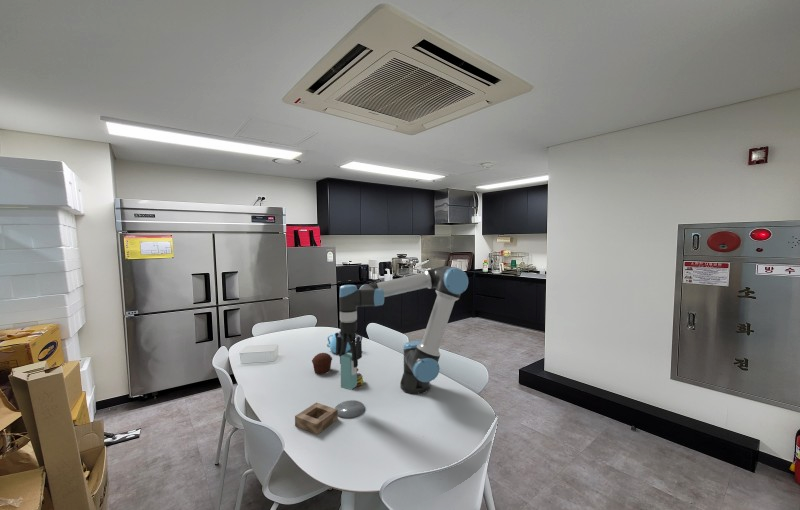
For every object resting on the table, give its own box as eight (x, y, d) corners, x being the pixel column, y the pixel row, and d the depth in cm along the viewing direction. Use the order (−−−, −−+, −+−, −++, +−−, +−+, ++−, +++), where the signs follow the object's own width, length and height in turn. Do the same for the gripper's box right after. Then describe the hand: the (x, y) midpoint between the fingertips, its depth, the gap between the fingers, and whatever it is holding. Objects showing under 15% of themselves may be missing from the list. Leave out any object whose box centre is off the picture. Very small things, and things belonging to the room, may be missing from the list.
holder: (337, 418, 128) (337, 409, 128) (316, 434, 118) (316, 424, 118) (316, 411, 134) (316, 402, 134) (295, 425, 124) (294, 416, 124)
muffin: (321, 377, 169) (321, 359, 168) (307, 372, 174) (307, 355, 174) (336, 369, 179) (336, 352, 178) (323, 365, 185) (322, 349, 184)
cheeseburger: (360, 389, 154) (355, 370, 154) (341, 392, 156) (336, 373, 156) (366, 380, 164) (362, 362, 164) (348, 383, 166) (344, 365, 166)
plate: (370, 406, 138) (370, 404, 138) (352, 421, 126) (352, 419, 126) (347, 399, 144) (347, 397, 144) (328, 413, 133) (328, 411, 133)
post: (356, 385, 136) (356, 354, 135) (349, 390, 131) (349, 358, 131) (348, 382, 138) (347, 352, 138) (340, 387, 134) (340, 356, 133)
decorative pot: (357, 351, 208) (357, 332, 207) (335, 357, 198) (335, 336, 198) (346, 345, 221) (346, 326, 220) (325, 350, 211) (325, 330, 211)
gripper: (370, 321, 133) (370, 373, 133) (338, 316, 141) (338, 365, 142) (359, 325, 126) (360, 380, 127) (326, 319, 135) (327, 371, 136)
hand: (348, 372), depth 135 cm, fingers closed on post, 5 cm apart
